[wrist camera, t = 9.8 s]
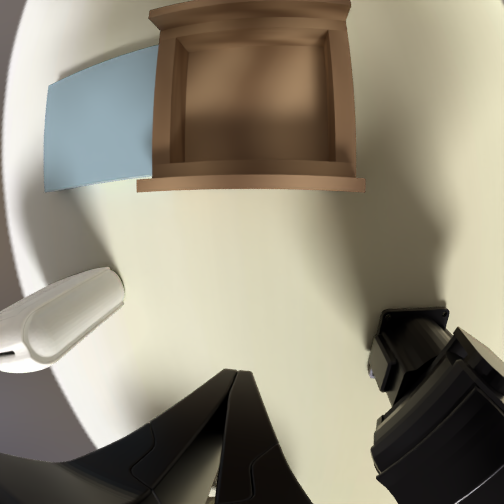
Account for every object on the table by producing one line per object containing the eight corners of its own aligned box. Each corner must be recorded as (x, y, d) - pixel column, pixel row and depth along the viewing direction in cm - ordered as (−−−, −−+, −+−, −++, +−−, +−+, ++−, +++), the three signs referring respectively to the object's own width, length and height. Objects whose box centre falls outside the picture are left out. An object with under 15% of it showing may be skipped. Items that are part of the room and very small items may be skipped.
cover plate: (175, 54, 18) (164, 43, 15) (175, 173, 20) (162, 173, 18) (64, 90, 19) (48, 85, 17) (62, 190, 22) (44, 192, 19)
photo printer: (63, 320, 24) (-16, 380, 12) (47, 283, 24) (-40, 331, 12) (134, 306, 23) (41, 390, 11) (115, 259, 22) (3, 320, 10)
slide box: (336, 36, 16) (349, -3, 10) (343, 189, 18) (365, 192, 13) (178, 42, 17) (149, 10, 12) (173, 189, 20) (136, 192, 15)
